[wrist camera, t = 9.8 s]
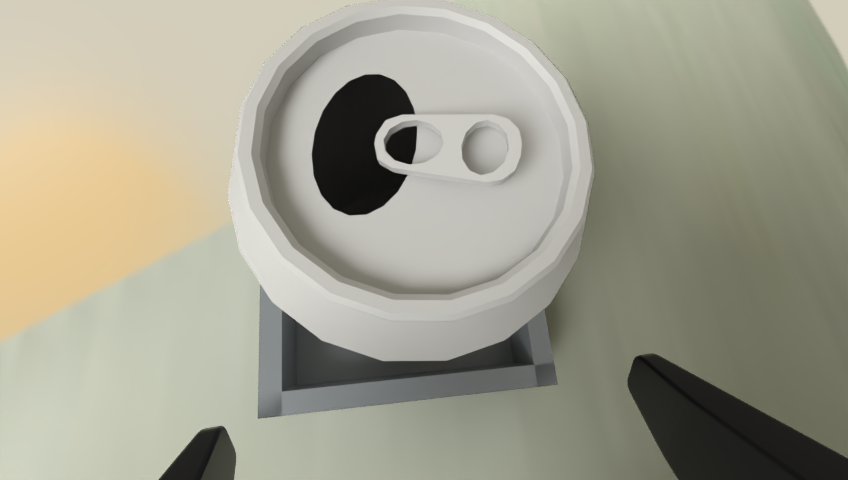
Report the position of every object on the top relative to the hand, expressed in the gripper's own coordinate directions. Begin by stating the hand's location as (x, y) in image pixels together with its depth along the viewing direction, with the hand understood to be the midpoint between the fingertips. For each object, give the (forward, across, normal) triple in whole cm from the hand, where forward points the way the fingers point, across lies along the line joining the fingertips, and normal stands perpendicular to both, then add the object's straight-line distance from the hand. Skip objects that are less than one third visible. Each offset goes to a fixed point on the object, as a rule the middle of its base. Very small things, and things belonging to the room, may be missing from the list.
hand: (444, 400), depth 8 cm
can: (+10, 0, +3) cm, 10 cm away
